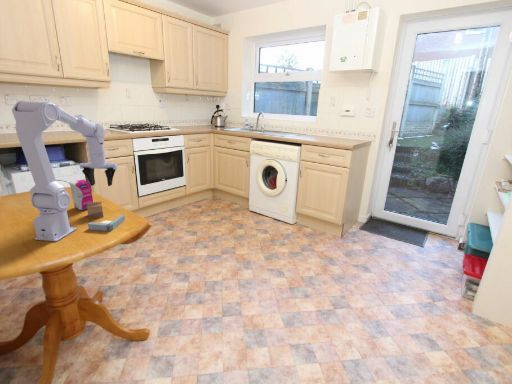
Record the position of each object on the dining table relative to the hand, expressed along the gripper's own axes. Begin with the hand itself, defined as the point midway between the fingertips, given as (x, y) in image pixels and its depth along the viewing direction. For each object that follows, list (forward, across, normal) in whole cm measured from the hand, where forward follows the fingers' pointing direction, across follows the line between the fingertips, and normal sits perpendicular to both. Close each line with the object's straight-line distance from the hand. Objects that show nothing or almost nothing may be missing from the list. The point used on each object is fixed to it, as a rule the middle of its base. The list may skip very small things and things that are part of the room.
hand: (101, 185), depth 117 cm
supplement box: (+10, +8, +1) cm, 13 cm away
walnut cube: (+10, -1, +10) cm, 14 cm away
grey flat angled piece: (+10, -9, +18) cm, 22 cm away
